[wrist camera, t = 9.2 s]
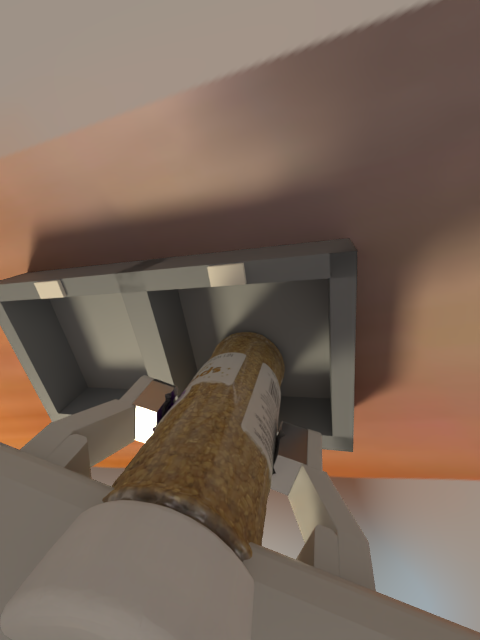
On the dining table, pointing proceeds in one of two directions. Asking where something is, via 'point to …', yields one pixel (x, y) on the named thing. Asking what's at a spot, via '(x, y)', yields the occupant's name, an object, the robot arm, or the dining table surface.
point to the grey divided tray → (192, 327)
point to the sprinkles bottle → (171, 520)
